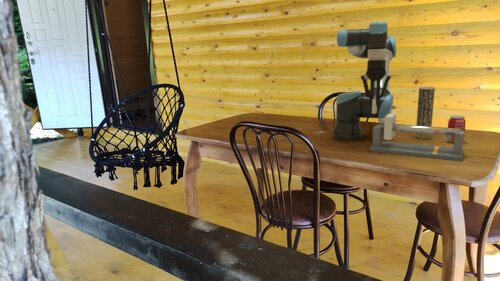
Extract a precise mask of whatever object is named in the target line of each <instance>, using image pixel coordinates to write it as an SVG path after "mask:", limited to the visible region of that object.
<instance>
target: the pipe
mask: <svg viewBox="0 0 500 281" xmlns="http://www.w3.org/2000/svg"><path fill="white" fill-rule="evenodd" d="M377 125H378V127H381V130H383V131H384V124H383V123H379V122H378V123H377ZM392 131H395V132H400V133H401V132H403V133H415V134H416V133H426V134H431V135H437V136H439V135H440V136H441V135H442V136H447V135H452V136H455V133H460V129H457V128H448V127H441V126H431V127H427V126H416V125H411V124H396V123H395V124H393V126H392Z"/></svg>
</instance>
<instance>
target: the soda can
mask: <svg viewBox="0 0 500 281" xmlns="http://www.w3.org/2000/svg"><path fill="white" fill-rule="evenodd" d="M447 128H457V129H460V131H464V134H466V133H465V132H466V131H465V130H466V119H465V116H463V115H451V116H450V118H449V119H448V123H447ZM464 139H465V137H464V138H463V141H464ZM454 140H455V136H452V135H446V141H448V143H451V144H452V143H453V144H454Z"/></svg>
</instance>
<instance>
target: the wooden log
mask: <svg viewBox="0 0 500 281" xmlns="http://www.w3.org/2000/svg"><path fill="white" fill-rule="evenodd" d="M435 90H436V88H435V86H419V87H418V97H417V98H418V99H417V111H416V113H417V114H416V123H415V124H416V125H415V126H427V127H433V125H432V124H433V116H434V115H433V113H434V102H435V101H434V100H435ZM431 136H432V134H426V133H415V138H416V139H420V140H421V139H422V140H427V139H430V138H431Z"/></svg>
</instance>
